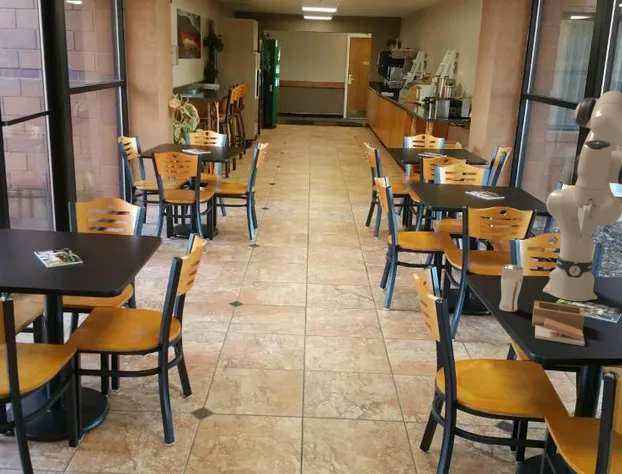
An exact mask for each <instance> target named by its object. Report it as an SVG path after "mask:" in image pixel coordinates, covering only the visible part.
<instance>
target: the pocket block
mask: <svg viewBox="0 0 622 474" xmlns="http://www.w3.org/2000/svg"><path fill="white" fill-rule="evenodd" d="M533 301H534V303H533V308H532V316H531V327H534V328H535V326H536V325H538V326H544V321H545V318H548V319H551V320H553V321H556V322H559V323H562V324H565V325H568V326H571V327H573V328H576V329H579V330H582V332H583V331H584V323H585V317H586V316H585V315H586V314H585V310H584V306H577V305H572V304H571V305H570V304H564V303H557V302H556V303H555V302H549V301H542V300H536V299H535V300H533Z"/></svg>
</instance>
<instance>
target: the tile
mask: <svg viewBox="0 0 622 474" xmlns="http://www.w3.org/2000/svg"><path fill="white" fill-rule="evenodd" d="M544 328H547V329H550V330H553V331H556V332H558V335H559V337H561V335H562V334H564V335H567V336H570V337H572V338H575V339H578V340H581V338H582V332H583V331H582V330H579V329H576V328H573V327H571V326H568V325H565V324H562V323H559V322H556V321H553V320H551V319H548V318H545V321H544Z"/></svg>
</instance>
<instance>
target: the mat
mask: <svg viewBox="0 0 622 474" xmlns="http://www.w3.org/2000/svg"><path fill="white" fill-rule="evenodd" d="M534 339H538V340H544V341H551V342H557V343H564V344H571V345H577V346H582V347H584V346H585V337H584V333H583V331H582V338H581V340H578V339H575V338H572V337H570V336H567V335H564V334H562V335H561V337H559V335H558V332H556V331H553V330H550V329H547V328H544V326H538V325H536V326H535V327H534Z"/></svg>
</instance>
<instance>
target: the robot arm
mask: <svg viewBox="0 0 622 474" xmlns="http://www.w3.org/2000/svg"><path fill="white" fill-rule="evenodd" d="M574 120H575V123H576V124H577V126H579V127H581V128H585V129H586V128H588V129H590V131H589V132H588V134H587V136H586V138H585V141H584V143H583V145H582V147H581V151H580V153H579V154H578V155H577V156H576V160H575V169H574V173H575V175H576V176H577V179H576V182H575V187H574V189H569V188H568V189H567V188H564V189H563V188H562V189H554V190H552V192H551V193H549V195H548V196H547V198H546V204H545V205H546V209H547V211H548V213H549V214H550V215H551V217H552V218H553V219H554V221H555V222H556V224H557V226H558V228H559V231H560V233H559V234H560V248H559V255H558V256H557V259H556V267H555V269H553V270H552V271H550V272H549V275H548V278H549V280H548V282H547V284H546V285H545V286H544V288H543V290H542V292H543V293H545V294H548V295H551V296H553V297H555V298H557V299H558V298H559V299H562V300H566V301H573V302H585V301H587V302H588V301H589V300H590V301H591V300H597V299H598V295H596V293H595V292H594V284H595V276H594V275H593V274H592V272H591V271H592V268H593V260H592V257H593V252H594V246H595V242H594V238H593V236H592V235H594V234H595V232H596V226H613V225H615V223H617V222H618V221H619V219H620V217H621V215H622V204H621V202H620V200H619V199H618V198H617V197H616V196H615V194H614V193H613V191H612V189H611V186H610V185H611V184H617V185H619V186H621V185H622V151H617V150H616V149H617V145H619V146H622V92H621V91H618V90H609V91H606V92H604V93H602V95H601V96H600V97H599V98H595V97H584V98H583V99H581V101H579V103H578V104H577V106H576V108H575V111H574Z"/></svg>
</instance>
